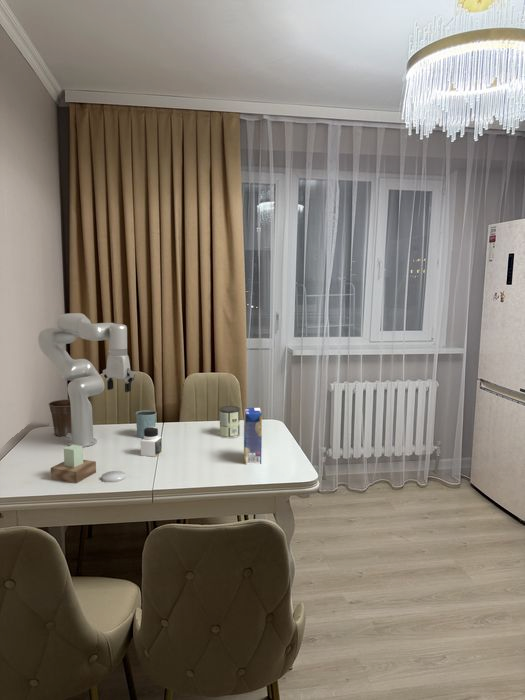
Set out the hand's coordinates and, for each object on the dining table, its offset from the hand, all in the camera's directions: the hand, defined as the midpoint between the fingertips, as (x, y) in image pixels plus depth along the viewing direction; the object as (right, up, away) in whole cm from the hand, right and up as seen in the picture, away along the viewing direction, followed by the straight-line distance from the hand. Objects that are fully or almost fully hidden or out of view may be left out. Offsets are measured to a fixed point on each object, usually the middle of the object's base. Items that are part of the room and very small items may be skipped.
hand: (119, 390), depth 228 cm
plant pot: (-35, -25, +32) cm, 53 cm away
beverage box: (+59, -30, -3) cm, 67 cm away
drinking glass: (+6, -25, +30) cm, 39 cm away
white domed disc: (+5, -33, -25) cm, 42 cm away
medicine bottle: (+14, -29, +3) cm, 32 cm away
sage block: (-11, -28, -24) cm, 38 cm away
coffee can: (+47, -25, +32) cm, 62 cm away
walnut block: (-11, -33, -24) cm, 42 cm away
